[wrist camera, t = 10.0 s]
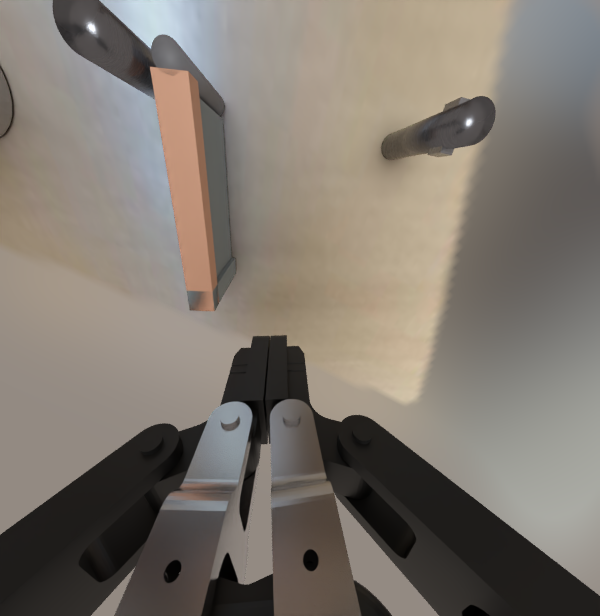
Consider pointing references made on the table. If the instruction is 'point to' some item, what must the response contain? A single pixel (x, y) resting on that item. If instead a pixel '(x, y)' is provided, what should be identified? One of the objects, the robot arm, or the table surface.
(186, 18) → the table surface
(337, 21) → the table surface
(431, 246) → the table surface
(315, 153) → the table surface
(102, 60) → the gate frame
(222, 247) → the gate
